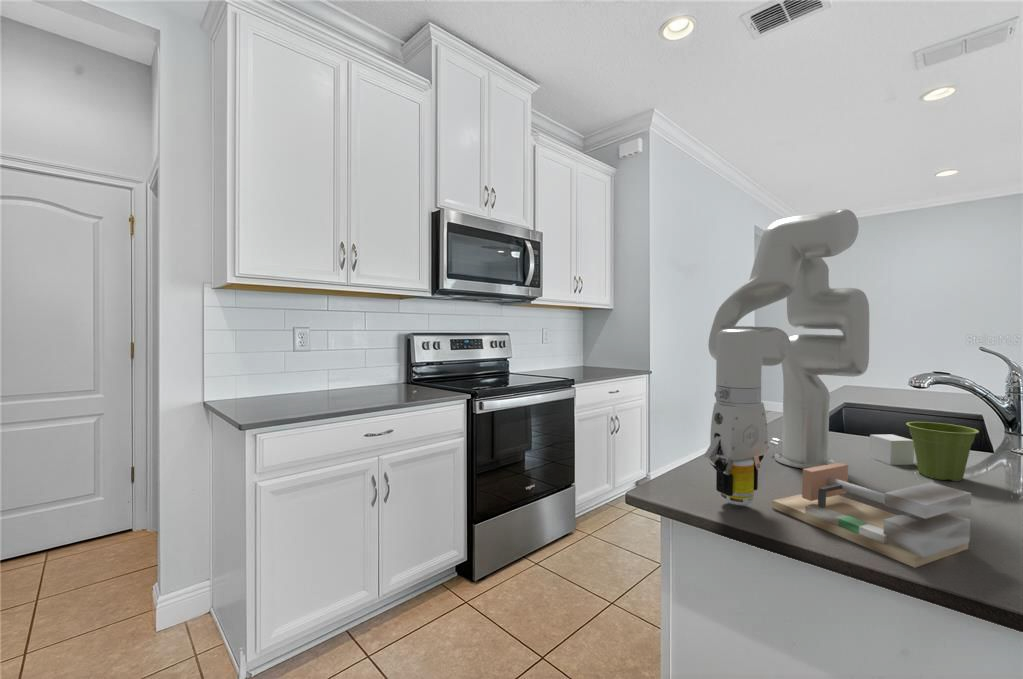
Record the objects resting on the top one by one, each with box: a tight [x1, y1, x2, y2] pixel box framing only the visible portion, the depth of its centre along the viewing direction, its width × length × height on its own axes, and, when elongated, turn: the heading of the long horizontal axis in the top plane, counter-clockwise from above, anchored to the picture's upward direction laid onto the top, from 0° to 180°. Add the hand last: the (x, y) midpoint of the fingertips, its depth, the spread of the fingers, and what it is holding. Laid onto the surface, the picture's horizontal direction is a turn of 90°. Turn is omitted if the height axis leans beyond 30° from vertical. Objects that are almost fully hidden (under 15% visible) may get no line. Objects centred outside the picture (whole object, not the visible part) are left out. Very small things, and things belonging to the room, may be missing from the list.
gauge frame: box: [771, 481, 972, 569], centre depth 76 cm, size 22×14×9 cm, turn 22°
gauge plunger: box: [801, 462, 885, 508], centre depth 75 cm, size 15×11×5 cm
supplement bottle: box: [720, 458, 755, 506], centre depth 84 cm, size 6×6×10 cm
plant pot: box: [905, 421, 980, 482], centre depth 101 cm, size 12×12×11 cm
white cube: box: [868, 433, 915, 466], centre depth 113 cm, size 6×6×6 cm
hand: (736, 489), depth 85 cm, fingers closed on supplement bottle, 5 cm apart
